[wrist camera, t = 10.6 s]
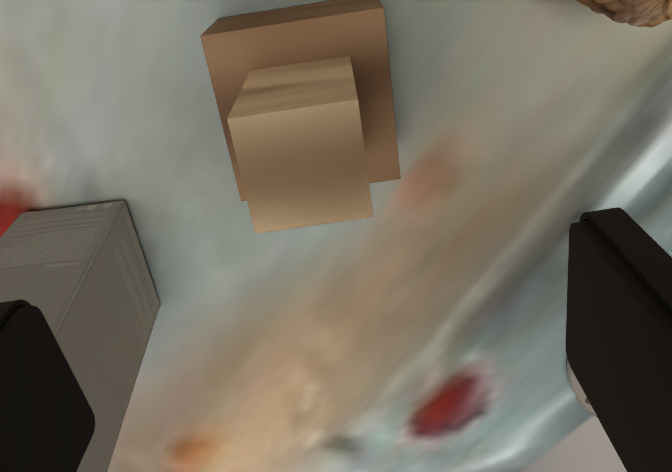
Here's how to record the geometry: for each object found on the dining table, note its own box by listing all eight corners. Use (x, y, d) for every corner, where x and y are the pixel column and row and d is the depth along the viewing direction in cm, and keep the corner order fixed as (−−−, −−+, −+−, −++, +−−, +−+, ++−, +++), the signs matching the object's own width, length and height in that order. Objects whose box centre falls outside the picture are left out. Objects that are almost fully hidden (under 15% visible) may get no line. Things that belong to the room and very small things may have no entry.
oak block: (362, 150, 28) (373, 216, 22) (270, 164, 28) (255, 233, 22) (349, 55, 26) (357, 99, 19) (250, 70, 26) (227, 119, 20)
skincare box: (23, 207, 34) (-179, 404, 21) (141, 195, 34) (17, 385, 20) (69, 321, 38) (-73, 548, 25) (175, 310, 38) (91, 535, 24)
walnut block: (390, 143, 33) (400, 178, 28) (251, 163, 33) (241, 201, 29) (374, -7, 29) (383, 7, 25) (218, 18, 29) (200, 36, 25)
